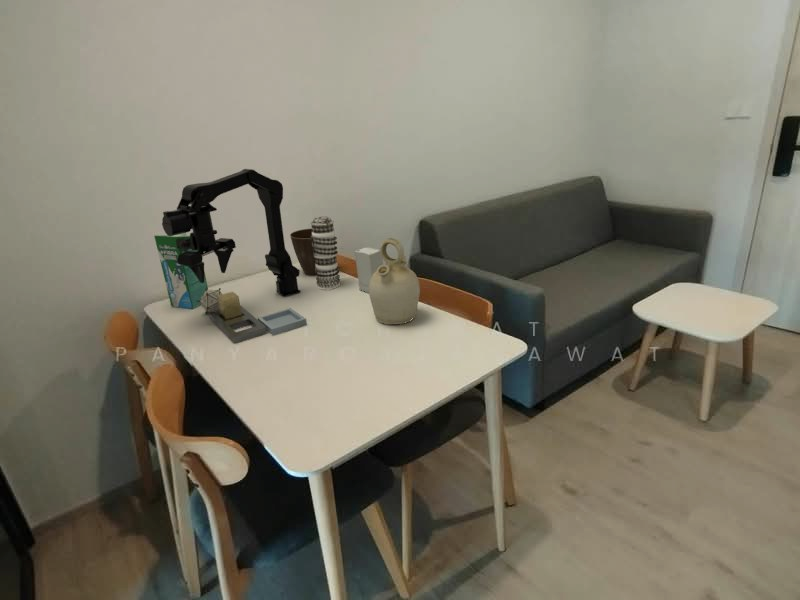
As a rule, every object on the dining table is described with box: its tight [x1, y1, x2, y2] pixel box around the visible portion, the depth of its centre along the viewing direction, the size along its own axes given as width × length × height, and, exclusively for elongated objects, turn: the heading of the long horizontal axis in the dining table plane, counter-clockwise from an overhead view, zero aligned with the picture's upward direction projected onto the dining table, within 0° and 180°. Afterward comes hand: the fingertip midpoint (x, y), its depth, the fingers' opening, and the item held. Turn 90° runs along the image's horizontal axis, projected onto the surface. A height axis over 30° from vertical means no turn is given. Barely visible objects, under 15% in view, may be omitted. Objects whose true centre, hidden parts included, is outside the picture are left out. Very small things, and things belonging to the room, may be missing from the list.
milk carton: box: [154, 232, 209, 310], centre depth 163 cm, size 9×9×25 cm
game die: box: [197, 287, 223, 315], centre depth 158 cm, size 9×8×10 cm
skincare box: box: [354, 246, 384, 294], centre depth 169 cm, size 8×6×15 cm
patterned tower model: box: [310, 216, 341, 290], centre depth 174 cm, size 9×9×25 cm
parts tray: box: [257, 307, 308, 336], centre depth 148 cm, size 11×11×2 cm
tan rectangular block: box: [217, 291, 242, 321], centre depth 151 cm, size 5×5×8 cm
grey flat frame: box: [209, 304, 269, 344], centre depth 148 cm, size 10×22×2 cm, turn 37°
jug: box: [368, 237, 421, 325], centre depth 145 cm, size 15×16×25 cm
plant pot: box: [289, 228, 317, 276], centre depth 190 cm, size 15×15×16 cm
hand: (213, 277), depth 150 cm, fingers open, 9 cm apart
